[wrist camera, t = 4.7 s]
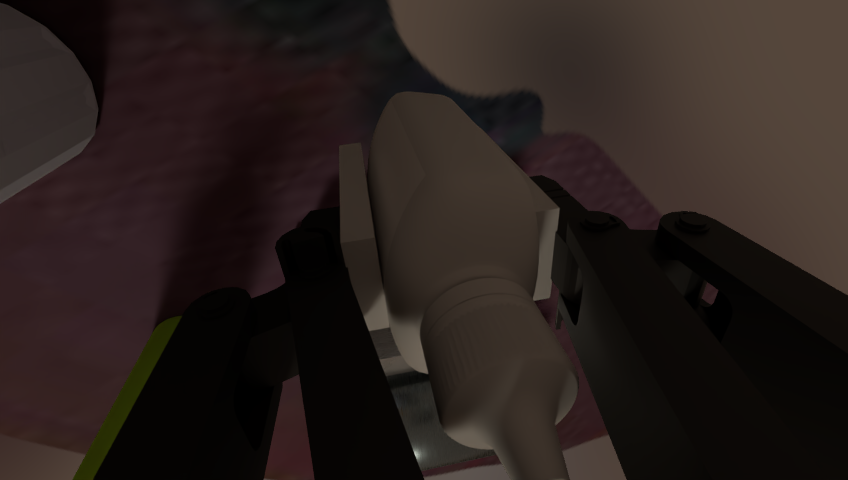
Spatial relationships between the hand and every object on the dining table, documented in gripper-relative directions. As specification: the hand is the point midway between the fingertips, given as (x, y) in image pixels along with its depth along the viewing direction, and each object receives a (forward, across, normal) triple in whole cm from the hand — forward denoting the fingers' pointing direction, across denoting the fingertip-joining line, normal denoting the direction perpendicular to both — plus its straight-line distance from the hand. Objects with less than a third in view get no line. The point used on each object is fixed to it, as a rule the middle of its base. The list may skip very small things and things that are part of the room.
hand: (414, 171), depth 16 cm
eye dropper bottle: (0, 0, 0) cm, 1 cm away
